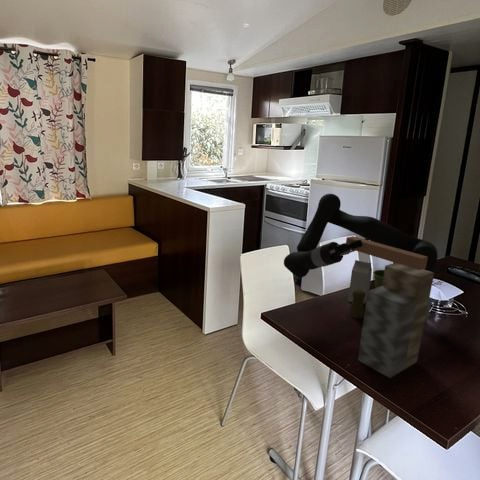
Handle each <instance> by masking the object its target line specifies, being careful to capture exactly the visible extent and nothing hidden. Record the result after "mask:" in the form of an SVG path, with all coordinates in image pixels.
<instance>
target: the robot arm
mask: <svg viewBox="0 0 480 480" xmlns="http://www.w3.org/2000/svg"><path fill="white" fill-rule="evenodd" d="M341 204H342V203H341V199H340V197H339V196H338V195H336V193H335V194H334V193H326V194H324V195H322V196H321V197H320V199H319V200H318V204H317V208H316V211H315V214H314V216H313V218H312V220H311V221H310V223H309V225H308V227H307V228H306V230H305V232H304V234H303V236H302V237H301V239H300V241H299V242H298V244H297V245H296V251H294V252H290V253H289V254H287V255H286V256H285V257H284V259H283V265H284V267H285V268H286V269H287V270H288V271H289V272H290V273H291V274H292V275H294V276H295V277H296V278H298V279H301V278H305V277H306V276H307V275H308V273H309V272H310V270H316V269H318V268H322V267H323V268H324V267H327V266H330V265H334V264H337V263H340V262H342V260H343V259H344V256H347V255H349V254H350V253H355V252H356V251H355V250H353V249H355V248H358V247H361V246H362V241H361V240H357V241H354V242H351V243H347V244H346V242H344V243H343V242H342V243H338V242H336V241H331V242H328V243H326V244H323V245H320V246H318V245H319V243H320V241H321V239H322V237H323V234H324V231H326V228H327V225H328V223H329V224H332V225H335V226H337V227H340V228H342V229H345V230H346V231H347V230H348V231H349V232H351V233H353V234H356V235H358V236H360V237H362V238H363V239H365V240H369V241H372V242H376V243H380V244H383V245H387V246H391V247H394V248H398V249H401V250H405V251H409V252H412V253H416V254H420V255H423V256H427V257H428V259H427V264H426V268H425V269H424V270H427V271H430V272H434V274H433V280H434V277H435V274H436V273H435V272H436V270H437V269H436V268H437V263H438V249H437V248H436V246H435V245H434V244H433V243H431V242H430V241H428V240H427V241H426V240H424V239H421V238H418V237H415V236H412V235H410V234H408V233H405V232H403V231H401V230H400V229H397V228H396V227H395V226H392V225H390V224H388V223H387V222H384V221H382V220H380V219H377V218H375V217H373V216H367V215H353V214H350V213H347V212H345V211H343V210H341V206H342V205H341ZM433 280H432V283H433ZM432 286H433V284H432V285H431V288H432ZM431 291H432V289H431V290H430V293H431ZM430 297H431V294H430V295H429V299H430ZM431 303H432V301H430V300H429V301H428V306H427V311H426V316H425V322H424V325H425V324H427V323H428V320H429V314H430V309H431V305H432V304H431Z"/></svg>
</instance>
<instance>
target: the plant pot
mask: <svg viewBox="0 0 480 480" xmlns="http://www.w3.org/2000/svg"><path fill="white" fill-rule="evenodd" d="M384 270H385V269H376V270H373V271H372V273H373V276H374V288H377V287H380V286H382V283H383V277H384Z"/></svg>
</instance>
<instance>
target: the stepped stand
mask: <svg viewBox="0 0 480 480" xmlns="http://www.w3.org/2000/svg"><path fill="white" fill-rule="evenodd" d="M383 270H384V277H383V283H382V286H380V287H377V288H375V287H374V288H372V289H369V291H368V293H367V300H366V303H365V308H364V316H363V320H362V328H361V335H360V343H359V347H358V349H359V350H358V356H357V357H358V358H357V361H359V362H360V363H362V364H364V365H366V366H367V367H369V368H371V369H373V370H375V371H376V372H379V373H380V374H381V375H384V376H386V377H387V378H389V379H392V378H393V377H395V376H396V375H398V374H400V373H401V372H403V371H404V370H406V369H408V368H410V367H411V366H413V365H414V364H416V363H418V358H419V354H420V353H419V352H420V348H421V342H422V338H423V337H422V336H423V331H424V326H425V324H424V322H425V316H426V311H427V306H428V301H430V298H429V295H430V296H431V292H430V290H431V291H432V287H431V285H432V286H433V282H432V280H434V278H433V274H434V272H430V271H427V270H424V269H422V270H417V269H414V268H411V267H407V266H404V265H401V264H398V263H394V262H392V263H390V264H387V265H384V269H383ZM434 275H435V274H434Z"/></svg>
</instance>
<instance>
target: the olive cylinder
mask: <svg viewBox="0 0 480 480" xmlns="http://www.w3.org/2000/svg"><path fill="white" fill-rule="evenodd" d="M352 295H353V301H352V302H351V305H350V309H349V311H348V315H349V316H350V317H351V318H353V319H362V318H363V319H364V314H365V308H364V306H365V304H364V301H363V299H364V298H365V292H364V291H362V290H354V291H353V294H352Z"/></svg>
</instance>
